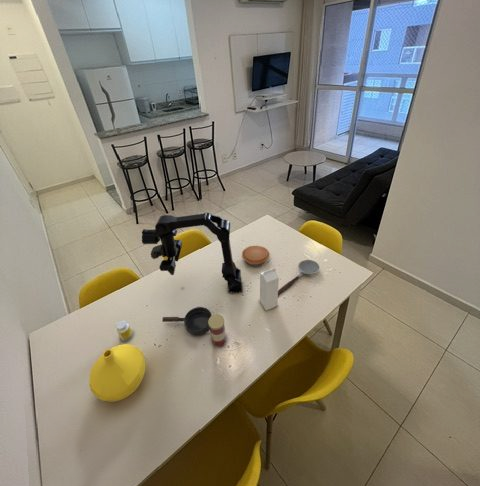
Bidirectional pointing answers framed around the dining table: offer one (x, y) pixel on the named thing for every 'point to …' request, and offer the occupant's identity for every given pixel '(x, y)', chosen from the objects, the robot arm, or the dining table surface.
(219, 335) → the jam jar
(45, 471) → the dining table surface
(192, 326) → the pan
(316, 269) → the spoon
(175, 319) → the pan handle
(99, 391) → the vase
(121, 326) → the supplement bottle
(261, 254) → the pie
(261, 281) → the milk
